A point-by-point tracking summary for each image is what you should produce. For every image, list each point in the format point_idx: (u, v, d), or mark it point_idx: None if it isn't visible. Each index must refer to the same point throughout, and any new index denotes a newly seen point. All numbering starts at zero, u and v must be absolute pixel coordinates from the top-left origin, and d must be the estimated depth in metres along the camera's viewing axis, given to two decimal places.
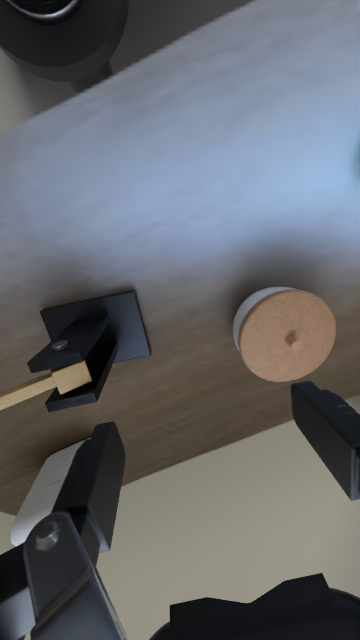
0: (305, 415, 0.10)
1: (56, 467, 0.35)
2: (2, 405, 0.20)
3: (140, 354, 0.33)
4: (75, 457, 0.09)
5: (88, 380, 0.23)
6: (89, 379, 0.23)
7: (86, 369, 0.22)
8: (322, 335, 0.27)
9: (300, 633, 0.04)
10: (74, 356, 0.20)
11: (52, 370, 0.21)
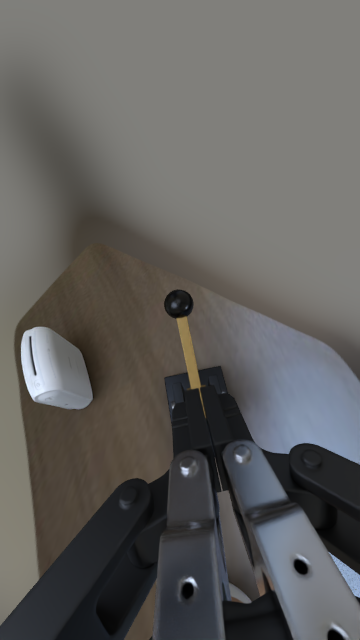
0: None
1: (77, 361, 0.38)
2: (187, 354, 0.27)
3: None
4: (173, 416, 0.10)
5: None
6: None
7: None
8: None
9: None
10: None
11: None
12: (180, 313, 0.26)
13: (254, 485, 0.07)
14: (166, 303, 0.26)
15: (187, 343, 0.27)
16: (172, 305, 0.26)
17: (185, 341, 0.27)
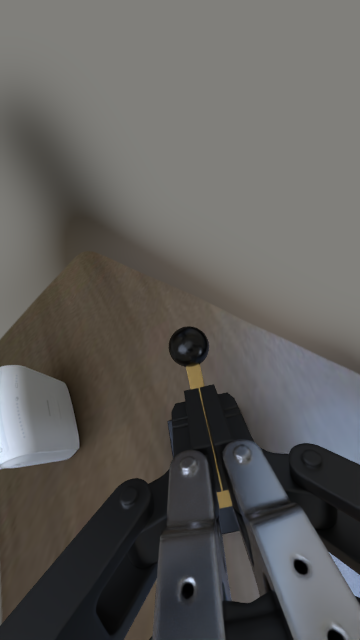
0: None
1: (59, 402, 0.31)
2: None
3: None
4: (173, 416, 0.10)
5: None
6: None
7: (225, 506, 0.19)
8: None
9: None
10: None
11: None
12: (192, 362, 0.18)
13: (254, 485, 0.07)
14: (172, 347, 0.19)
15: None
16: (180, 351, 0.18)
17: None
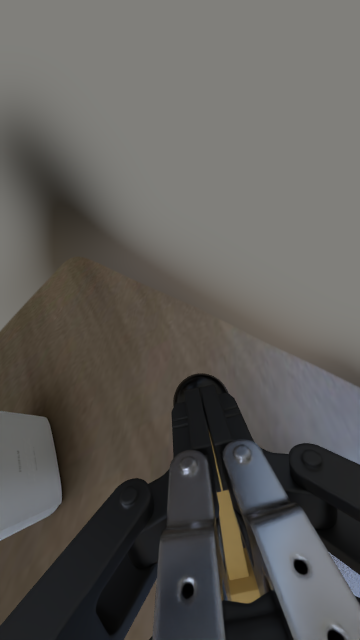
0: None
1: (36, 448, 0.25)
2: (220, 506, 0.13)
3: None
4: (173, 416, 0.10)
5: None
6: None
7: None
8: None
9: None
10: None
11: None
12: None
13: (254, 485, 0.07)
14: None
15: (220, 483, 0.13)
16: None
17: None
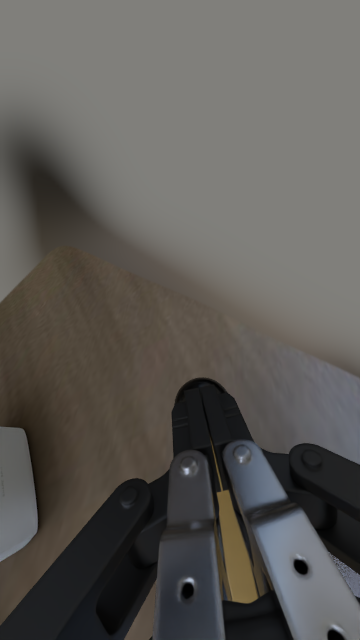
0: None
1: (5, 467, 0.21)
2: (226, 532, 0.11)
3: None
4: (173, 416, 0.10)
5: None
6: None
7: None
8: None
9: None
10: None
11: None
12: (207, 426, 0.12)
13: (254, 485, 0.07)
14: None
15: (224, 500, 0.12)
16: None
17: (218, 495, 0.12)
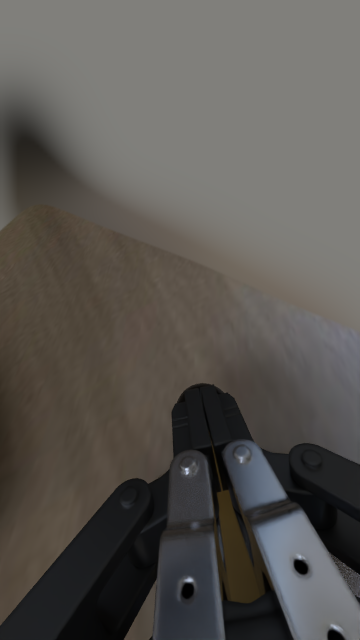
0: None
1: None
2: (225, 533, 0.09)
3: None
4: (173, 416, 0.10)
5: None
6: None
7: None
8: None
9: None
10: None
11: None
12: None
13: (254, 485, 0.07)
14: (178, 402, 0.14)
15: (223, 494, 0.10)
16: None
17: None
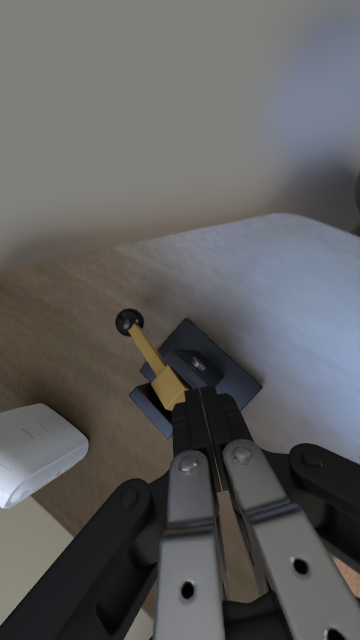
0: None
1: (40, 421, 0.31)
2: (144, 350, 0.24)
3: None
4: (173, 416, 0.10)
5: (165, 404, 0.19)
6: (166, 405, 0.18)
7: (175, 395, 0.18)
8: None
9: None
10: None
11: None
12: (125, 322, 0.26)
13: (254, 485, 0.07)
14: None
15: (141, 341, 0.25)
16: (116, 321, 0.27)
17: (139, 341, 0.25)
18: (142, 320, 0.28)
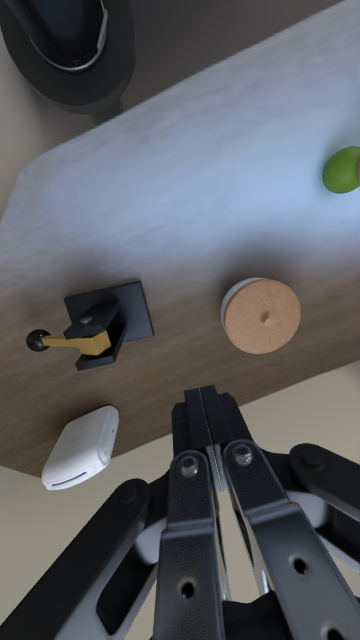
0: None
1: (75, 429, 0.42)
2: (61, 344, 0.32)
3: (145, 334, 0.40)
4: (173, 416, 0.10)
5: (95, 353, 0.29)
6: (95, 353, 0.28)
7: (93, 345, 0.28)
8: (290, 315, 0.34)
9: None
10: (98, 327, 0.27)
11: None
12: (35, 344, 0.34)
13: (254, 485, 0.07)
14: None
15: (55, 342, 0.33)
16: (31, 349, 0.34)
17: (54, 343, 0.33)
18: (43, 331, 0.35)
